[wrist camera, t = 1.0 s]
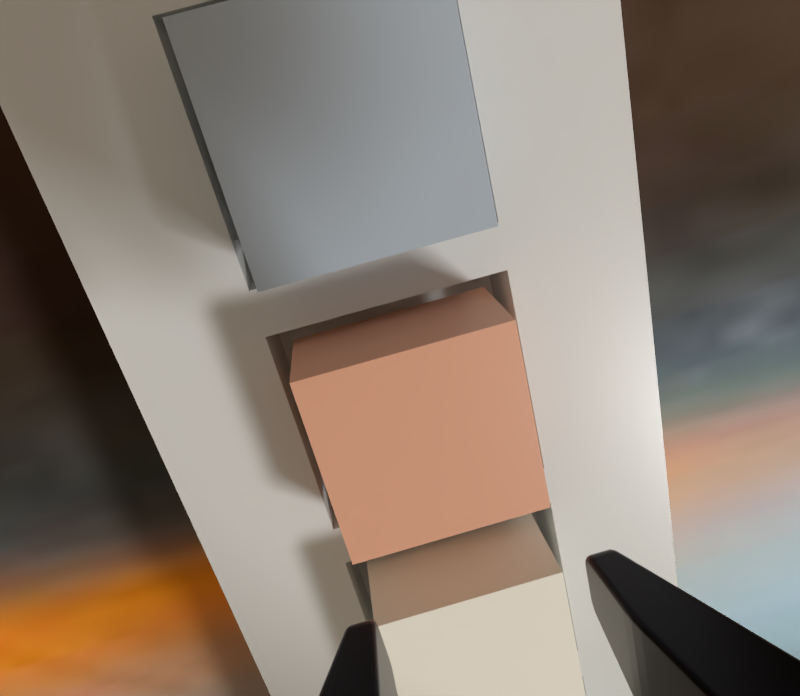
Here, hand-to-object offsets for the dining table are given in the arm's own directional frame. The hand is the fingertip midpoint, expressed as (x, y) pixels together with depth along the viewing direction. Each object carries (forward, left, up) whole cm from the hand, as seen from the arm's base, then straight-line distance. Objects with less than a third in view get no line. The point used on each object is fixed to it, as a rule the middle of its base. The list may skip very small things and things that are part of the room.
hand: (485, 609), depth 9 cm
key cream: (-6, 0, -7) cm, 10 cm away
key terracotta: (0, 0, -7) cm, 7 cm away
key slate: (+6, 0, -7) cm, 10 cm away
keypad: (-3, 0, -12) cm, 12 cm away
